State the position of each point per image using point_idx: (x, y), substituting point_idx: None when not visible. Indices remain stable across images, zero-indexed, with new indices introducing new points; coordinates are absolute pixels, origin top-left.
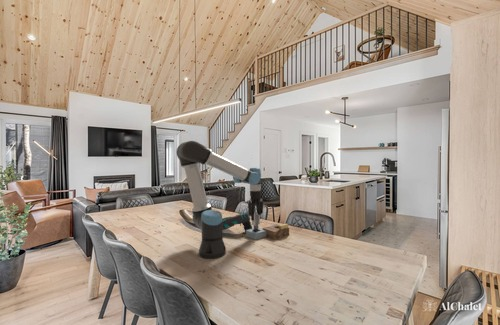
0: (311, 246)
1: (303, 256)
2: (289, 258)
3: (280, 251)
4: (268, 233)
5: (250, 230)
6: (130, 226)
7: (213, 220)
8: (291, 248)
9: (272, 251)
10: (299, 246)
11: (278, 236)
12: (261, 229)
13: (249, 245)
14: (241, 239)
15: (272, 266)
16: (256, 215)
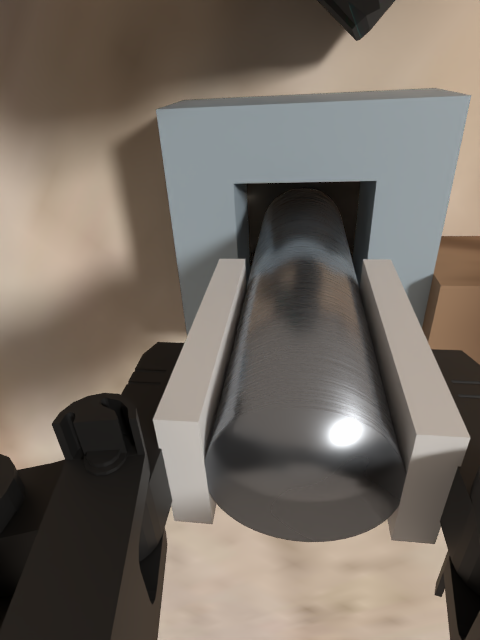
0: (436, 622)
1: (262, 635)
2: (185, 611)
3: (210, 559)
4: None
5: (224, 181)
6: None
7: None
8: (306, 575)
9: (166, 535)
10: (379, 588)
11: None
12: (416, 266)
13: (72, 382)
14: (63, 189)
15: None
16: (280, 521)
